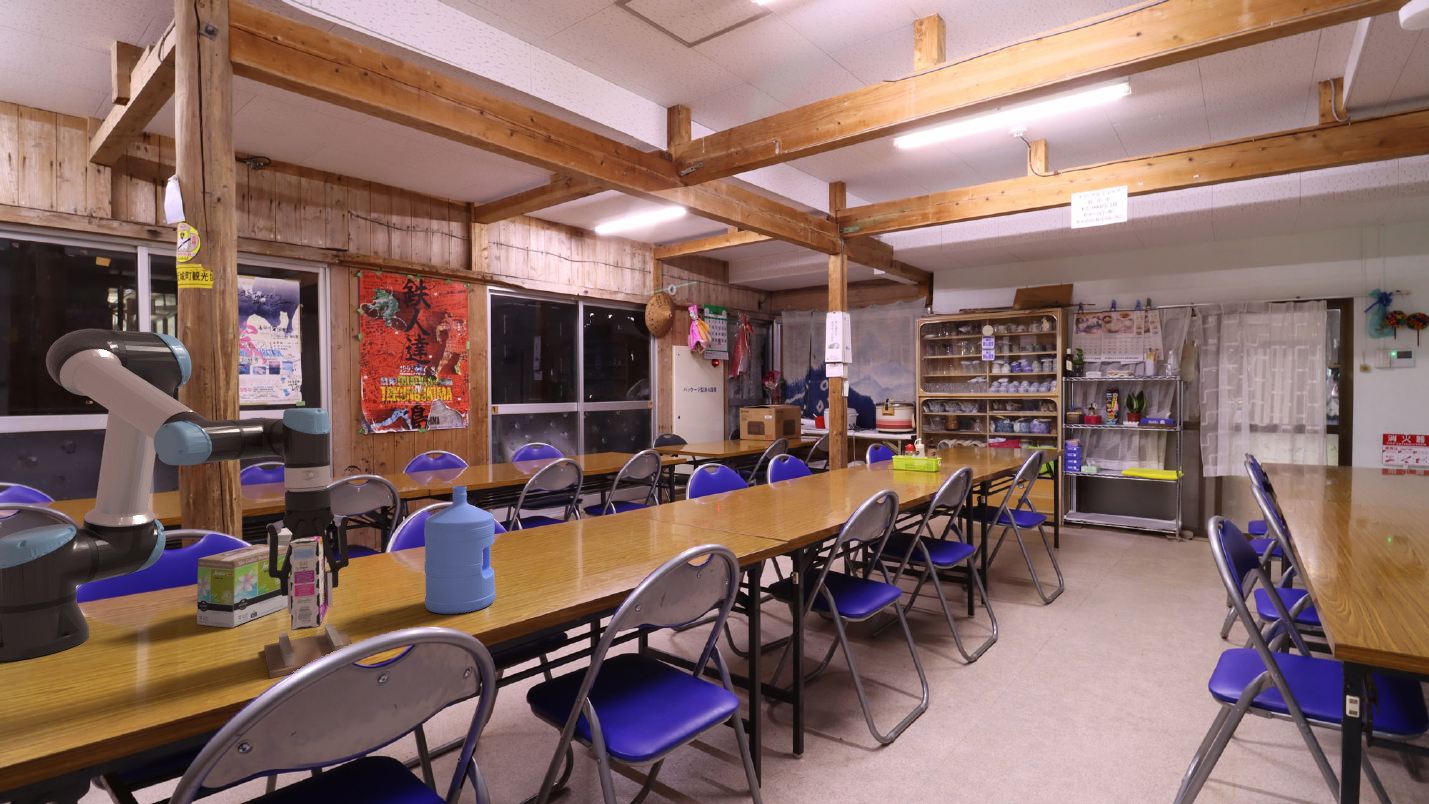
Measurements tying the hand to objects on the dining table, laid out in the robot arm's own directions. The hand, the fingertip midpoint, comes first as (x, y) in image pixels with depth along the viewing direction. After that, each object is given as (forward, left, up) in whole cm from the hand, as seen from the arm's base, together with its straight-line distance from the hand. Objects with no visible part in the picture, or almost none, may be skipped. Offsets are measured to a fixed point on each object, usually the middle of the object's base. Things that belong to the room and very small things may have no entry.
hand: (310, 607), depth 128 cm
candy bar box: (0, 0, -3) cm, 3 cm away
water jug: (+32, +13, -9) cm, 36 cm away
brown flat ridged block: (0, 0, -9) cm, 9 cm away
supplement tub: (+1, +55, -9) cm, 56 cm away
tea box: (-9, +35, -9) cm, 37 cm away
